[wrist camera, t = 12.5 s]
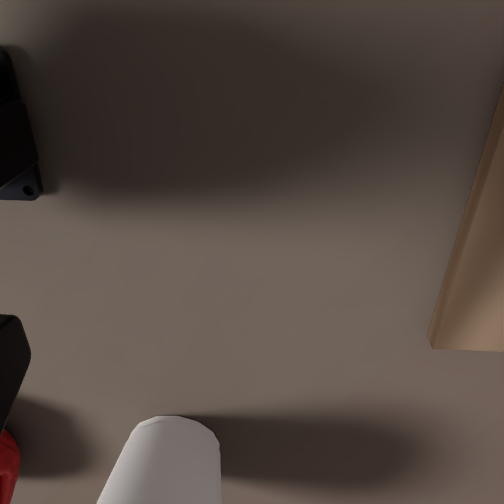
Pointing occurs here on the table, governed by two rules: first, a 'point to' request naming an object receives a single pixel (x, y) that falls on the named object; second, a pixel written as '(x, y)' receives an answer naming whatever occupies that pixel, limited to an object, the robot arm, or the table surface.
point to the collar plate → (477, 260)
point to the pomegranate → (8, 466)
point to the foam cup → (166, 465)
